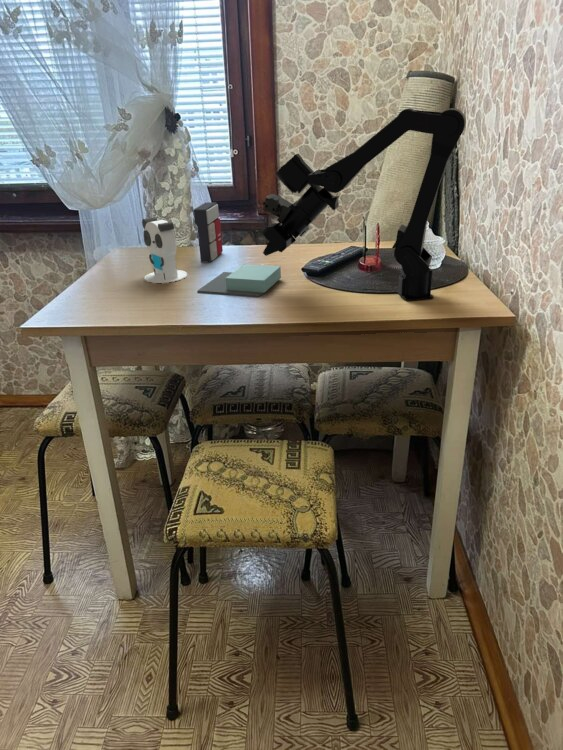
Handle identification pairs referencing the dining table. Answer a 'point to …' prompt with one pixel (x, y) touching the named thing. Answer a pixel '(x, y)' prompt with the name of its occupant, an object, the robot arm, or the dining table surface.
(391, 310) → the dining table surface
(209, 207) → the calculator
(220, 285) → the mat
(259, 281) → the board
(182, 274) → the panda figurine
